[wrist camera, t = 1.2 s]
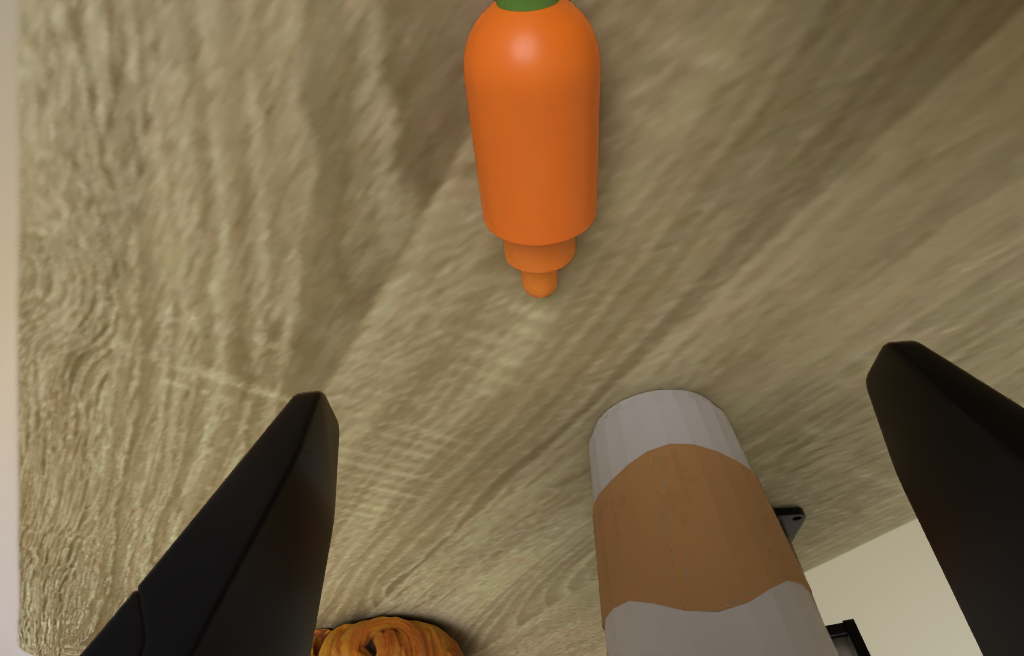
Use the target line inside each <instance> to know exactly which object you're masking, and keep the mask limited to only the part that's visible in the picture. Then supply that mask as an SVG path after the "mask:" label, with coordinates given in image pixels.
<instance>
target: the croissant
mask: <svg viewBox="0 0 1024 656" xmlns="http://www.w3.org/2000/svg"><path fill="white" fill-rule="evenodd" d="M311 656H464V655H463V653H462V652H461V650H460V647H459V645H458V644H457V642H456V641H455V640H454V639H453V638H451V637H450V636H449V635H448V634H447V633H446V632H444V631H443V630H441V629H440V628H438V627H437V626H435V625H431V624H428V623H424V622H420V621H417V620H416V621H408V620H405V619H401V618H398V617H392V618H390V617H378V618H373V619H371V620H364V621H360V622H357V623H355V624H343V625H342V626H338V627H337V628H335V629H334V630H333V631H331V630H329V629H327V628H326V629H319V630H315V633H314V639H313V644H312V650H311Z"/></svg>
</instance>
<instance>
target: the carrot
mask: <svg viewBox="0 0 1024 656" xmlns="http://www.w3.org/2000/svg"><path fill="white" fill-rule="evenodd" d="M463 68H464V80H465V87H466V94H467V102H468V109H469V116H470V123H471V131H472V138H473V145H474V152H475V160H476V167H477V174H478V182H479V189H480V196H481V203H482V211H483V218H484V222H485V224H486V226H487V227H488V228H489V230H490V231H491V232H492V233H493V234H495V235H496V236H498V237H499V238H501V239H503V244H504V253H505V258H506V259H507V261H508V262H509V264H510V265H511V266H513V267H514V268H516V269H518V270H520V271H521V276H522V285H523V288H524V289H525V291H526V292H527V293H528V294H529V295H530V296H532V297H535V298H545V297H547V296H549V295H551V294H552V293H553V292H554V290H555V289H556V287H557V283H558V274H557V270H559V269H561V268H563V267H564V266H566V265H567V264H568V263H569V262H570V261H571V260H572V258H573V257H574V254H575V237H576V236H578V235H579V234H581V233H583V232H584V231H585V230H586V229H587V228H588V227H589V226H590V225H591V224H592V222H593V221H594V219H595V217H596V213H597V187H598V150H599V112H600V75H601V60H600V50H599V44H598V41H597V38H596V35H595V33H594V31H593V28H592V26H591V24H590V23H589V21H588V20H587V18H586V16H585V15H584V14H583V13H582V12H581V11H580V10H579V9H578V8H577V7H576V6H575V5H574V4H573V3H571V2H570V1H569V0H496V2H494V3H493V4H491V5H490V6H489V7H488V8H487V9H486V10H485V11H484V12H483V13H482V15H481V16H480V17H479V18H478V20H477V21H476V23H475V25H474V26H473V28H472V31H471V33H470V35H469V37H468V40H467V44H466V47H465V53H464V64H463Z"/></svg>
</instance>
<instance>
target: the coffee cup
mask: <svg viewBox="0 0 1024 656" xmlns="http://www.w3.org/2000/svg"><path fill="white" fill-rule="evenodd" d="M589 458H590V469H591V480H592V491H593V503H594V504H593V522H594V533H595V545H596V556H597V568H598V580H599V591H600V603H601V615H602V626H603V629H604V630H605V636H606V647H607V656H839V655H838V652H837V650H836V648H835V646H834V644H833V642H832V640H831V638H830V635H829V633H828V631H827V629H826V627H825V625H824V623H823V620H822V618H821V616H820V614H819V612H818V610H817V608H816V606H815V603H814V601H813V599H812V591H811V588H810V586H809V584H808V582H807V580H806V578H805V576H804V574H803V571H802V569H801V567H800V565H799V563H798V561H797V559H796V557H795V555H794V553H793V550H792V548H791V546H790V544H789V542H788V540H787V538H786V536H785V534H784V531H783V529H782V527H781V525H780V523H779V521H778V519H777V517H776V515H775V512H774V510H773V508H772V506H771V504H770V502H769V500H768V498H767V496H766V494H765V491H764V489H763V487H762V485H761V483H760V481H759V479H758V478H757V477H756V475H755V474H754V473H753V471H752V469H751V467H750V465H749V463H748V460H747V458H746V456H745V454H744V452H743V450H742V448H741V446H740V443H739V441H738V439H737V437H736V435H735V433H734V431H733V428H732V426H731V424H730V422H729V420H728V418H727V417H726V415H725V414H724V413H723V411H722V410H721V409H719V408H718V407H716V406H714V405H713V403H712V402H711V401H710V400H708V399H707V398H705V397H703V396H702V395H700V394H697V393H693V392H690V391H686V390H674V389H667V390H655V391H650V392H646V393H642V394H638V395H634V396H632V397H630V398H627V399H625V400H623V401H620V402H619V403H617V404H616V405H614V406H613V407H611V408H610V409H608V410H607V411H606V412H605V413H604V414H603V415H602V416H601V417H600V418H599V419H598V421H597V423H596V425H595V428H594V432H593V434H592V436H591V438H590V440H589Z"/></svg>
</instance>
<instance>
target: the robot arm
mask: <svg viewBox="0 0 1024 656" xmlns="http://www.w3.org/2000/svg"><path fill="white" fill-rule="evenodd" d="M866 385H867V390H868V394H869V396H870V399H871V402H872V405H873V408H874V411H875V414H876V417H877V420H878V423H879V425H880V428H881V431H882V434H883V437H884V440H885V443H886V446H887V449H888V452H889V454H890V457H891V460H892V463H893V465H894V468H895V471H896V473H897V476H898V478H899V480H900V482H901V484H902V487H903V489H904V491H905V493H906V495H907V497H908V499H909V501H910V503H911V506H912V508H913V510H914V512H915V514H916V516H917V518H918V520H919V522H920V524H921V526H922V529H923V531H924V532H925V535H926V537H927V539H928V541H929V543H930V545H931V547H932V549H933V551H934V554H935V556H936V558H937V560H938V562H939V564H940V566H941V568H942V570H943V573H944V575H945V577H946V579H947V581H948V583H949V585H950V587H951V589H952V591H953V593H954V596H955V598H956V600H957V602H958V604H959V606H960V608H961V610H962V612H963V614H964V616H965V618H966V621H967V623H968V625H969V627H970V629H971V631H972V633H973V635H974V637H975V639H976V641H977V643H978V646H979V648H980V650H981V652H982V654H983V656H1024V408H1023V407H1022V406H1020V405H1018V404H1017V403H1015V402H1014V401H1012V400H1010V399H1009V398H1007V397H1006V396H1004V395H1002V394H1001V393H999V392H998V391H996V390H994V389H993V388H991V387H990V386H988V385H986V384H985V383H983V382H982V381H980V380H978V379H977V378H975V377H974V376H972V375H970V374H969V373H967V372H966V371H964V370H962V369H961V368H959V367H958V366H956V365H954V364H953V363H951V362H950V361H948V360H946V359H945V358H943V357H942V356H940V355H938V354H937V353H935V352H934V351H932V350H930V349H929V348H927V347H925V346H924V345H922V344H920V343H919V342H916V341H897V342H889V343H887V344H885V345H884V346H883V347H882V349H881V351H880V352H879V354H878V356H877V358H876V360H875V361H874V363H873V365H872V367H871V369H870V371H869V372H868V375H867V379H866ZM338 447H339V425H338V421H337V418H336V416H335V414H334V412H333V410H332V408H331V406H330V404H329V402H328V400H327V398H326V396H325V395H324V393H322V392H321V391H313V392H302V393H298V394H296V395H295V396H293V398H292V399H291V400H290V401H289V402H288V404H287V405H286V406H285V407H284V408H283V410H282V411H281V412H280V413H279V415H278V416H277V417H276V418H275V419H274V421H273V422H272V423H271V424H270V426H269V427H268V428H267V429H266V430H265V432H264V433H263V434H262V435H261V437H260V438H259V439H258V440H257V441H256V443H255V444H254V445H253V446H252V448H251V449H250V450H249V451H248V452H247V454H246V455H245V456H244V457H243V459H242V460H241V461H240V462H239V463H238V465H237V466H236V467H235V468H234V470H233V471H232V472H231V473H230V474H229V476H228V477H227V478H226V479H225V481H224V482H223V483H222V484H221V485H220V487H219V488H218V489H217V490H216V492H215V493H214V494H213V495H212V496H211V498H210V499H209V500H208V501H207V503H206V504H205V505H204V506H203V507H202V509H201V510H200V511H199V512H198V514H197V515H196V516H195V517H194V518H193V520H192V521H191V522H190V523H189V525H188V526H187V527H186V528H185V529H184V531H183V532H182V533H181V534H180V536H179V537H178V538H177V539H176V540H175V542H174V543H173V544H172V545H171V547H170V548H169V549H168V550H167V551H166V553H165V554H164V555H163V556H162V558H161V559H160V560H159V561H158V562H157V564H156V565H155V566H154V567H153V569H152V570H151V571H150V572H149V573H148V575H147V576H146V577H145V578H144V580H143V581H142V582H141V583H140V584H139V586H138V591H134V592H133V593H132V594H131V595H130V596H129V598H128V599H127V600H126V601H125V602H124V604H123V605H122V606H121V607H120V609H119V610H118V611H117V612H116V613H115V615H114V616H113V617H112V618H111V619H110V621H109V622H108V623H107V624H106V625H105V626H104V628H103V629H102V630H101V631H100V632H99V634H98V635H97V636H96V637H95V638H94V639H93V641H92V642H91V643H90V644H89V645H88V646H87V648H86V649H85V650H84V651H83V652H82V653H81V655H80V656H311V650H312V644H313V639H314V633H315V627H316V622H317V616H318V610H319V605H320V599H321V593H322V587H323V582H324V576H325V570H326V565H327V559H328V553H329V548H330V542H331V536H332V530H333V523H334V514H335V500H336V482H337V464H338ZM774 512H775V515H776V517H777V519H778V521H779V523H780V525H781V527H782V529H783V531H784V534H785V536H786V538H787V540H788V542H789V544H790V546H791V548H792V550H793V553H794V555H795V557H796V559H797V561H798V563H799V560H798V558H797V555H796V553H795V550H794V547H793V545H792V540H793V539H794V537H795V535H796V534H797V532H798V530H799V528H800V527H801V525H802V523H803V522H804V520H805V518H806V515H805V513H804V510H803V509H802V508H787V509H775V510H774ZM799 565H800V563H799ZM800 567H801V565H800ZM801 569H802V568H801ZM802 571H803V570H802ZM803 574H804V573H803ZM804 576H805V575H804ZM812 599H813V601H814V603H815V600H814V598H813V595H812ZM815 606H816V608H817V605H816V603H815ZM817 610H818V608H817ZM818 612H819V610H818ZM819 614H820V613H819ZM820 616H821V615H820ZM825 627H826V629H827V631H828V633H829V635H830V638H831V640H832V642H833V644H834V646H835V648H836V650H837V652H838V655H839V656H870V653H869V651H868V649H867V647H866V645H865V643H864V640H863V638H862V636H861V634H860V632H859V630H858V628H857V626H856V623H855V621H854V619H850V620H844V621H843V623H839V624H834V625H828V626H825Z"/></svg>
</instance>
